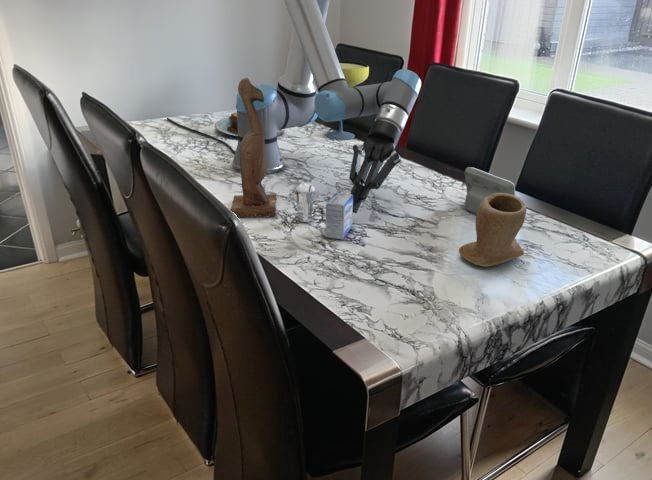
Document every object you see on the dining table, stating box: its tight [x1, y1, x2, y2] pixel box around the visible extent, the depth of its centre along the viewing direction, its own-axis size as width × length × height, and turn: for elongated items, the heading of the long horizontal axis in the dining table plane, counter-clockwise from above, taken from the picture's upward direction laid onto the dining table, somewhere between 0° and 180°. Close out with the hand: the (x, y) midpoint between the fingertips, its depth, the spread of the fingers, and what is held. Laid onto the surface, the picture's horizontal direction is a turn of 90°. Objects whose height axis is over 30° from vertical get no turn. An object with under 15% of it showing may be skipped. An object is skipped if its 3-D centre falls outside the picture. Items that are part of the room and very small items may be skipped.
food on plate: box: [214, 112, 283, 137], centre depth 211 cm, size 25×25×7 cm
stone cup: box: [458, 193, 527, 267], centre depth 125 cm, size 15×12×15 cm
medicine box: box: [325, 192, 353, 241], centre depth 135 cm, size 8×4×9 cm, turn 165°
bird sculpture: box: [230, 77, 278, 219], centre depth 139 cm, size 11×12×32 cm
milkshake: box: [295, 183, 316, 223], centre depth 140 cm, size 4×5×10 cm
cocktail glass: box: [325, 60, 370, 141], centre depth 208 cm, size 18×18×25 cm
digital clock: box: [463, 166, 516, 215], centre depth 152 cm, size 16×9×11 cm, turn 26°
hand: (352, 210), depth 139 cm, fingers closed
